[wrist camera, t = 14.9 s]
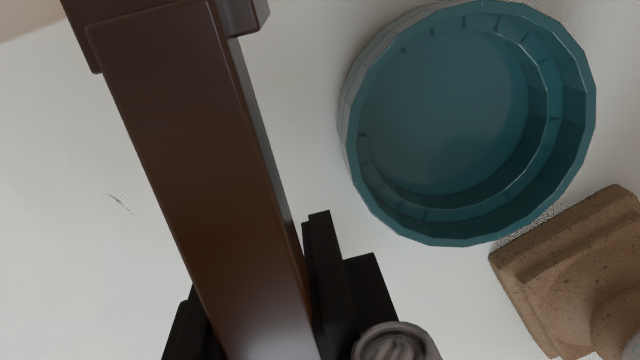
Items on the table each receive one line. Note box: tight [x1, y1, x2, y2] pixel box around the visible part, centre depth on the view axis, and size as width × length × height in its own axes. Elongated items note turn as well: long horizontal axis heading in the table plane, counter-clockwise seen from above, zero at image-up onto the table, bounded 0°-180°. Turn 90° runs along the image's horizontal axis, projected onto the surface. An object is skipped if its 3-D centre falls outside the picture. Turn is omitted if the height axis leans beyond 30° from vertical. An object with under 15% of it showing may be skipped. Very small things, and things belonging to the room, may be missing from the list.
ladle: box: [60, 0, 321, 360], centre depth 12 cm, size 20×6×8 cm, turn 14°
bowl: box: [337, 0, 596, 247], centre depth 27 cm, size 14×14×5 cm
